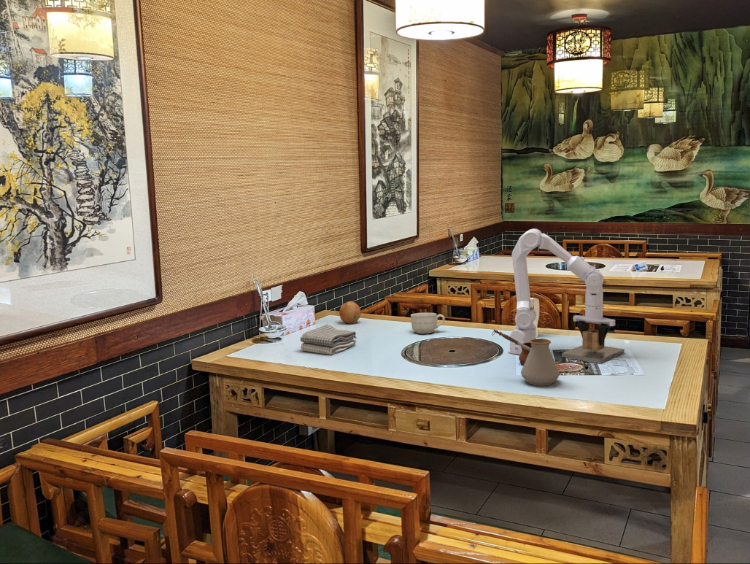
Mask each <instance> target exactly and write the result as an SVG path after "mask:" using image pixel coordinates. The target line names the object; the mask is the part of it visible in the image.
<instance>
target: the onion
mask: <svg viewBox="0 0 750 564" xmlns="http://www.w3.org/2000/svg"><path fill="white" fill-rule="evenodd" d="M361 311H362V310H361V308H360V306H359V305H358V304H357V303H356V302H355V301H353V300H350V301H346V302H345V303H343V304H342V305H340V308H339V311H338V314H339V317H340V320H341V321H342V322H343V323H345V322H346V323H345V324H347V323H351V324H354V322H355V323H356V322H357V321H359V320H360V318H361V314H362V312H361Z"/></svg>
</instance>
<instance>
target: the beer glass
mask: <svg viewBox="0 0 750 564" xmlns="http://www.w3.org/2000/svg"><path fill="white" fill-rule="evenodd" d="M530 299H531V302H532V307H533V310H534V311H535V313H536V318H535V320H534V322H533V323H534V325H535V326H536V339H538V338H539V333H538V323H539V318H540V300H539V298H538V297H537V298H536V297H530Z"/></svg>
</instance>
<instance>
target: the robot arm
mask: <svg viewBox="0 0 750 564" xmlns="http://www.w3.org/2000/svg"><path fill="white" fill-rule="evenodd" d="M538 246H539V247H538ZM537 247H538V248H539V249H540V250H548V251H549V252H550V253H552V254H553V255H555V256H556V257H557V258H559V259H560V260H561V261H563V262H564V263H566V269H567V270H569V271H570V272H571V273H572V274H574V275H575V276H576V277H577V278H578V279H580V280H581V281H582V280H583V281H584V283H585V285H586V289H585V290H586V291H585V296H584V297H585V304H584V305H585V306H584V309H585V312H584V314H585V315H577V314H576V315H573V318H572V319H573V322H576V326H577V329H578V330H579V332H580V335H581V338H582V340H583V331H586V330H589V329H590V324H596V325H597V330H598V333H599V345H600V346H601V345H604V346H605V342H604V341H606V337H607V335H608V332H609V331H610V329H611V328H612V327H615V326H616V319H611V318H607V317H604V313H603V309H604V307H603V306H604V305H603V304H604V291H603V290H604V289H603V288H604V287H603V284H604V275H603V273H602V272H601V271H600V270H599V269H597V267H595V266H593V265H590V264H589V263H588V262H587V261H585V257H583V256H579V255H572V254H571V253H570V252H568V251H567V250H566V249H565V248H563V246H561V245H560V244H559V243H558V242H556V241H555V240H554V239H553V238H552V237H551V236H548V235H547V234H546V233H545V232H543V233H542V231H541V230H539V229H538V228H531V229H528V230H527V231H526V232H524V233H523V234H522V235H521V236H520V237H519V238H518V241H517V242H516V244H515V246H514V248H513V250H512V252H511V259H512V267H513V278H514V286H515V294H516V295H515V296H516V314H515V317H514V322H515V325H514V326H515V327H514V330H512V332H511V333H510V335H509V336H510V337H511V338H513V339H515V340H516V341H518V342H520V343H527V342H529V341H530V340H532V339H537V338H536V326H535V325H534V323H533V322H534V320H535V318H536V313H535V311H534V310H533V307H532V302H531V299H530V298H531V291H530V282H529V272H528V263H527V256H528V255H529V254H530V252H532V250H534V249H536V248H537ZM509 346H510V347H509V350H508V351H507V353H508V354H514V355H520V354H521V352H522V348H521V346H520V345H518V344H516V343H513V342H511V341H509Z"/></svg>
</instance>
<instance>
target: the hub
mask: <svg viewBox="0 0 750 564" xmlns="http://www.w3.org/2000/svg"><path fill="white" fill-rule="evenodd" d="M623 353H624V354H625V349H624V348H619V347H613V346H606V345H604V348H603V349H601V350H598V351H594V350H588V349H582V345H580V346H577V347H574V348H572V349H569V350H566V351H564V352H562V353H561V358H563V357H565V359H569V358H571V359H570V360H575V359H577V360H576V361H580V360H583V362H588V363H593V364H598V365H601V364H602V363H605V362H607V361H610V360H612V359H615V358H617V357H619V356H621V354H622V355H624V354H623ZM614 357H615V358H614Z"/></svg>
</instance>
